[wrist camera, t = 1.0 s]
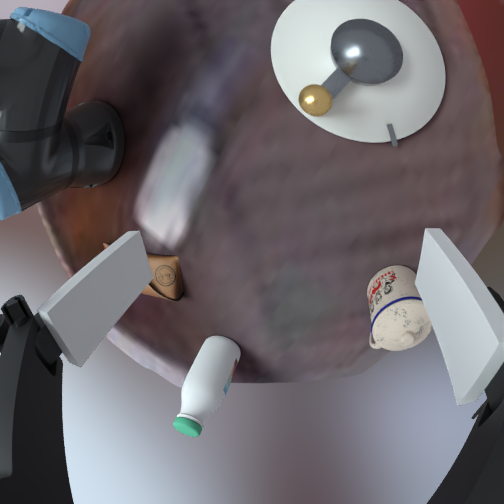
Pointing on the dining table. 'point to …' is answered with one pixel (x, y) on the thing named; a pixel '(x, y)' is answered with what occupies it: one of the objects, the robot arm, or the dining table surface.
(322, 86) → the lever
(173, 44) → the dining table surface
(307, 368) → the dining table surface
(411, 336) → the teacup with lid
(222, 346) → the milk bottle
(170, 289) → the sunglasses case
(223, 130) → the dining table surface
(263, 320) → the dining table surface
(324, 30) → the dial plate
